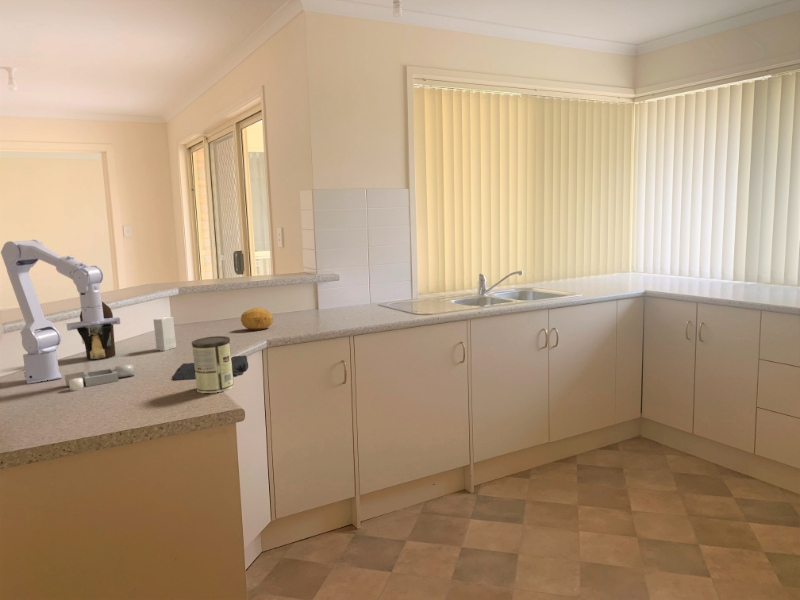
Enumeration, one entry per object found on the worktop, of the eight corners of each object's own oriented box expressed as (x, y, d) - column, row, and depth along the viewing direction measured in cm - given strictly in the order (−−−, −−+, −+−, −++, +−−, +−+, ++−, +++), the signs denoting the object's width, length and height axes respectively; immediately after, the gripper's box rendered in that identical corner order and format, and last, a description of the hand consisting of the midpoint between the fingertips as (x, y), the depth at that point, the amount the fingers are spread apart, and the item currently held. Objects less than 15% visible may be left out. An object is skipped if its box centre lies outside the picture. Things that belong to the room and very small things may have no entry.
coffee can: (202, 384, 177) (197, 337, 175) (237, 382, 177) (233, 335, 175) (191, 394, 167) (186, 344, 165) (229, 392, 167) (224, 342, 165)
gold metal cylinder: (90, 359, 184) (87, 334, 183) (90, 357, 187) (87, 333, 186) (105, 357, 185) (102, 333, 184) (105, 355, 189) (102, 331, 188)
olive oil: (83, 357, 223) (74, 289, 219) (114, 352, 229) (107, 286, 225) (87, 362, 214) (78, 292, 210) (119, 357, 220) (111, 288, 216)
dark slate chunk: (183, 370, 197) (182, 355, 197) (251, 365, 199) (250, 351, 198) (169, 382, 182) (167, 367, 182) (243, 378, 184) (241, 362, 183)
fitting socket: (67, 389, 178) (65, 378, 178) (65, 383, 186) (63, 372, 185) (136, 377, 188) (134, 366, 188) (131, 372, 196) (130, 361, 195)
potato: (270, 308, 256) (271, 303, 265) (238, 312, 253) (239, 307, 262) (273, 330, 258) (274, 324, 267) (241, 334, 256) (243, 328, 265)
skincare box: (168, 347, 233) (164, 316, 231) (177, 347, 231) (173, 316, 229) (155, 350, 227) (152, 319, 226) (164, 351, 226) (161, 319, 224)
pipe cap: (70, 391, 176) (69, 381, 176) (69, 389, 179) (68, 379, 179) (84, 389, 178) (83, 379, 178) (83, 386, 181) (82, 377, 181)
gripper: (65, 310, 177) (71, 356, 179) (119, 304, 184) (124, 348, 186) (63, 308, 183) (69, 352, 184) (116, 302, 190) (121, 344, 192)
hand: (97, 350), depth 186 cm, fingers closed on gold metal cylinder, 4 cm apart
